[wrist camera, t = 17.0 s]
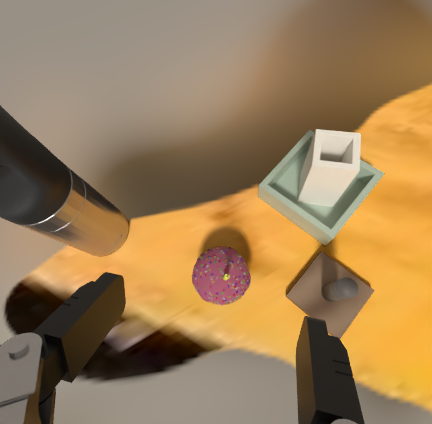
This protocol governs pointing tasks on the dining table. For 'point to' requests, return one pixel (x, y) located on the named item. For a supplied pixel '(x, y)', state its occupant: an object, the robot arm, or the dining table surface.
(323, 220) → the tray
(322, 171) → the sleeve
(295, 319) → the dining table surface
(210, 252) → the cupcake
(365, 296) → the base
